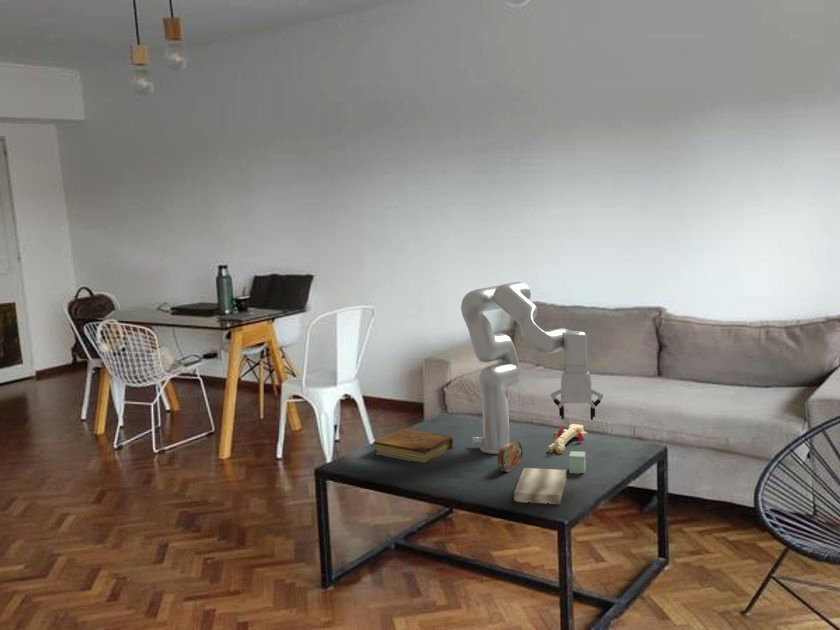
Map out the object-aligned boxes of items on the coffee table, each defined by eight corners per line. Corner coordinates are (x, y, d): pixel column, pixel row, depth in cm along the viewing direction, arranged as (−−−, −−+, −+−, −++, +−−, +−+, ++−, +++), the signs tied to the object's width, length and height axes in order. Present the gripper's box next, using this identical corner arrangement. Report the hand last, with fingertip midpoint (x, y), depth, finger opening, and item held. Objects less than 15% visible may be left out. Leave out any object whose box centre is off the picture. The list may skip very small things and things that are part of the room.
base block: (514, 501, 253) (513, 492, 252) (524, 476, 273) (524, 467, 273) (559, 504, 249) (559, 494, 248) (566, 478, 270) (566, 469, 269)
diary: (453, 450, 305) (453, 435, 304) (425, 466, 290) (424, 450, 289) (403, 441, 318) (403, 427, 317) (374, 455, 303) (373, 440, 302)
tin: (504, 475, 276) (503, 451, 274) (496, 474, 277) (495, 450, 276) (523, 461, 288) (522, 438, 287) (515, 460, 290) (514, 437, 288)
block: (569, 473, 275) (569, 456, 274) (570, 468, 280) (570, 451, 279) (584, 473, 274) (584, 456, 273) (585, 468, 278) (585, 451, 277)
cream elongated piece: (567, 459, 293) (592, 434, 313) (566, 436, 291) (591, 412, 311) (542, 455, 298) (568, 430, 319) (540, 432, 296) (567, 409, 317)
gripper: (548, 371, 270) (550, 421, 272) (602, 371, 265) (603, 422, 268) (551, 366, 277) (552, 414, 279) (603, 366, 272) (604, 415, 275)
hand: (577, 418), depth 273 cm, fingers open, 9 cm apart
